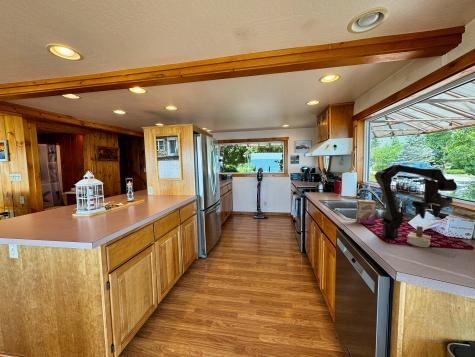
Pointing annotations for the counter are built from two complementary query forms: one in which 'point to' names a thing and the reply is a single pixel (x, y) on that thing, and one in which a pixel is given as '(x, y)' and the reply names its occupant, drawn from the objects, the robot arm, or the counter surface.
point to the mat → (443, 252)
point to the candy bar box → (365, 212)
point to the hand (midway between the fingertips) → (429, 217)
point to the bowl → (418, 242)
